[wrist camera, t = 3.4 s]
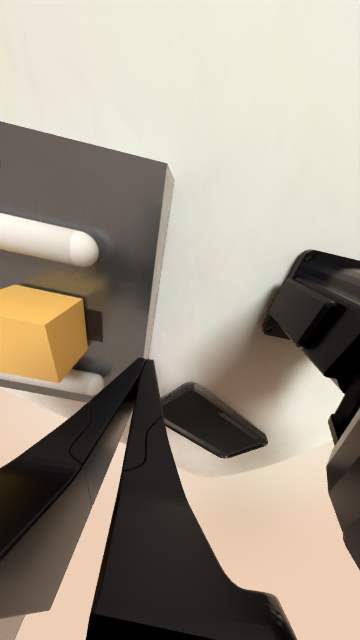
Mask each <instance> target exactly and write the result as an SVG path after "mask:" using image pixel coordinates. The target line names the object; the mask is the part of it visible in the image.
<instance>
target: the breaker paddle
mask: <svg viewBox="0 0 360 640" xmlns="http://www.w3.org/2000/svg"><path fill="white" fill-rule="evenodd" d="M87 350H88V345H87V335H86V325H85V316H84V306H83V299H81V298H76V297H72V296H67V295H62V294H57V293H53V292H48V291H43V290H38V289H34V288H29V287H24V286H19V285H12V286H9V287H6V288H3V289H0V373H6V374H11V375H16V376H22V377H27V378H33V379H38V380H43V381H49V382H54V383H60V382H61V381H62V379H63V378H64V377H65V376H66V375H67V374H68V372H69V371H70V370H71V369H72V368H73V366H74V365H75V364H76V363H77V362H78V360H79V359H80V358H81V357H82V356H83V354H84V353H85V352H86V351H87Z"/></svg>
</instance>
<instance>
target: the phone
mask: <svg viewBox="0 0 360 640" xmlns="http://www.w3.org/2000/svg"><path fill="white" fill-rule="evenodd" d="M179 388H180V389H179ZM170 394H171V396H169V395H170ZM167 396H169V397H167ZM166 397H167V398H166ZM160 400H161V406H162V411H163V417H164V422H165V426H166V427H168V428H170V429H171V430H173V431H175V432H177V433H178V434H180V435H182V436H183V437H185V438H187V439H189V440H190V441H192V442H194V443H195V444H197V445H199V446H201V447H202V448H204V449H206V450H208V451H209V452H211V453H213V454H214V455H216V456H218V457H220V458H231V457H234V456H237V455H240V454H243V453H246V452H249V451H252V450H255V449H258V448H261V447H264V446H266V445H267V444H268V441H267V438H266V435H265V434H264V433H263V432H261V431H260V430H259V429H257V428H256V427H254V426H253V425H252V424H251V423H249V422H248V421H246V420H245V419H244V418H242V417H241V416H240V415H238V414H237V413H236V412H234V411H233V410H232V409H230V408H229V407H228V406H226V405H225V404H224V403H222V402H221V401H220V400H218V399H217V398H216V397H214V396H213V395H212V394H210V393H209V392H208V391H206V390H205V389H204V388H202V387H201V386H200V385H198V384H196V383H193V382H189V383H185V384H183V385H181V386H180V387H178V388H177V389H175V390H173V391H172V392H170V393H169V394H167V395H165V396H164V397H162V398H161V399H160Z"/></svg>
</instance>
